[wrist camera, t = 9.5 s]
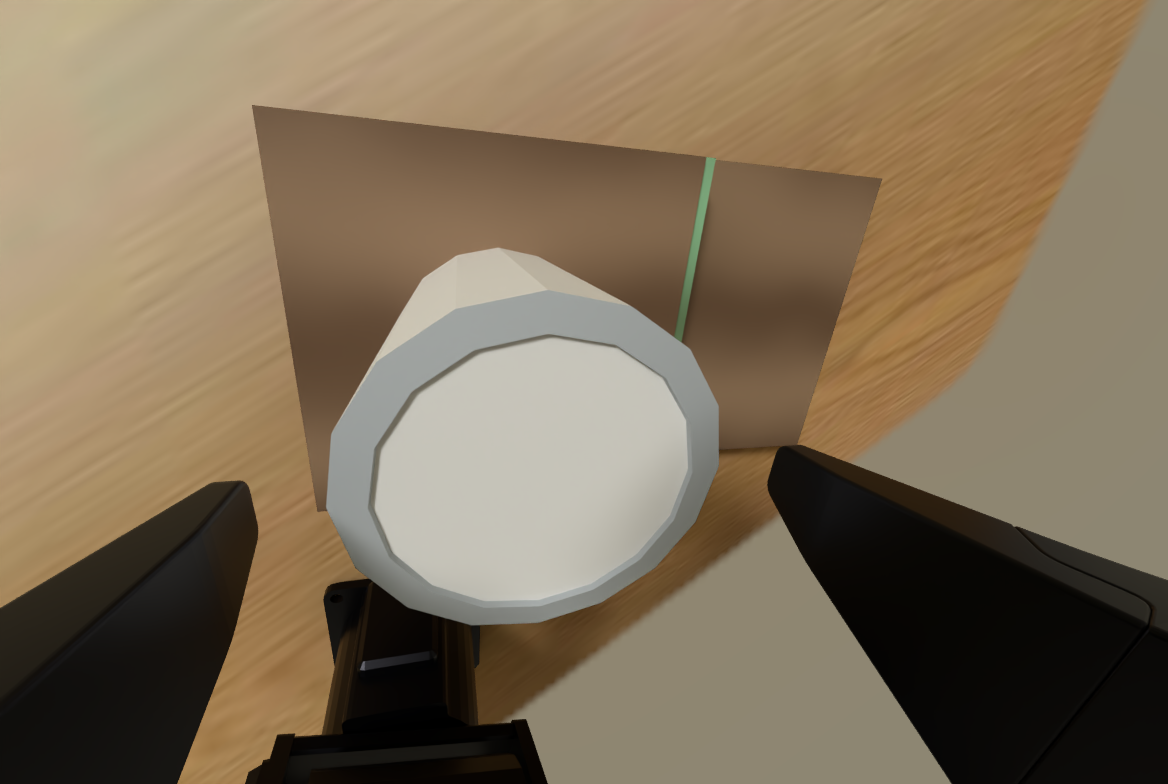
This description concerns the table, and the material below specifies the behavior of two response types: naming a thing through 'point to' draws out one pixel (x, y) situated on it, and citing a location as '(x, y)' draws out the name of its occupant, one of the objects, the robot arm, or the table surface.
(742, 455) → the table surface
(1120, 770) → the robot arm
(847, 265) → the stepped riser
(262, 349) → the table surface
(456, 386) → the white tapered cup
